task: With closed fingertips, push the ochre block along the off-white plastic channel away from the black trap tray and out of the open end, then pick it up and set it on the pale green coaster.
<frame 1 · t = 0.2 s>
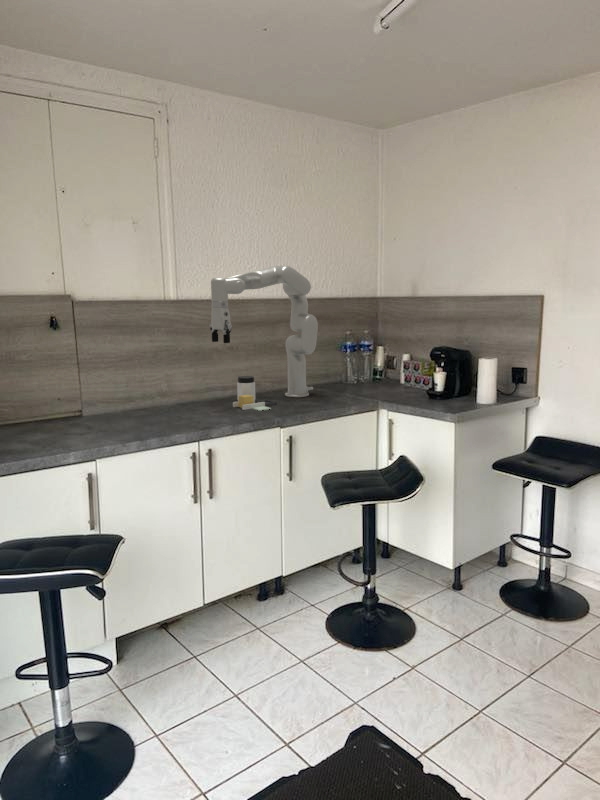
hand: (220, 342, 269), 31 cm above the worktop, fingers open, 9 cm apart
jar: (246, 400, 288), on the worktop
block: (246, 407, 272), on the worktop
coaster: (261, 409, 267), on the worktop
channel: (248, 406, 273), on the worktop
trap tray: (265, 404, 279), on the worktop
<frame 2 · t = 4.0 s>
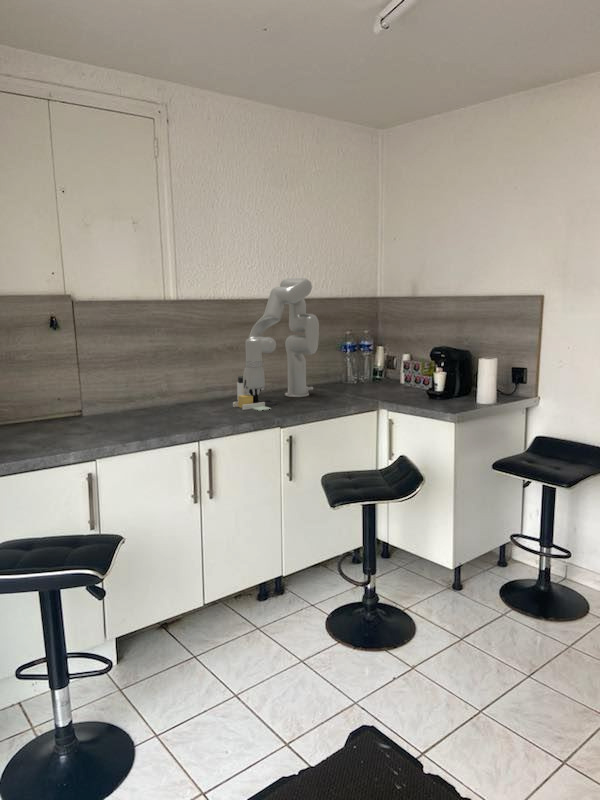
hand: (254, 402, 275), 1 cm above the worktop, fingers closed
block: (245, 407, 272), on the worktop, touching gripper
everything else where it was.
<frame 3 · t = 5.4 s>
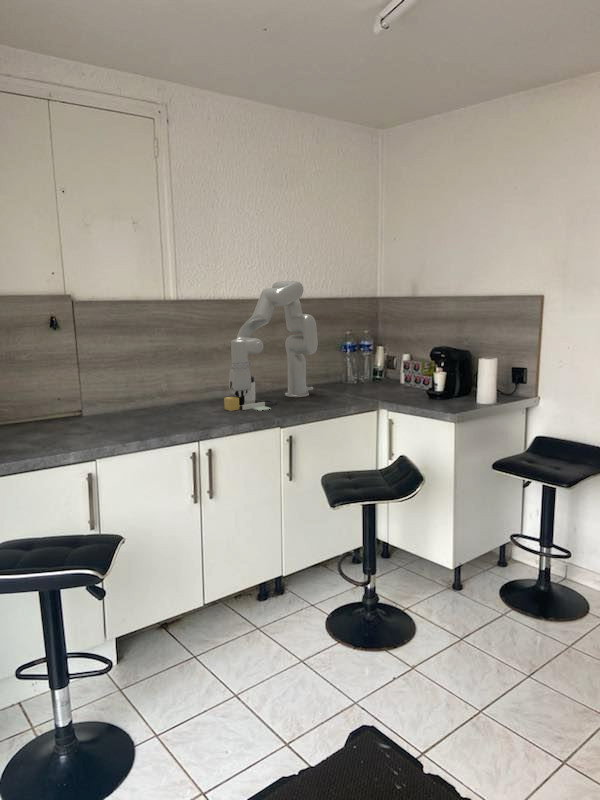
hand: (241, 404, 270), 2 cm above the worktop, fingers closed
block: (231, 409, 267), on the worktop, touching gripper
everything else where it was.
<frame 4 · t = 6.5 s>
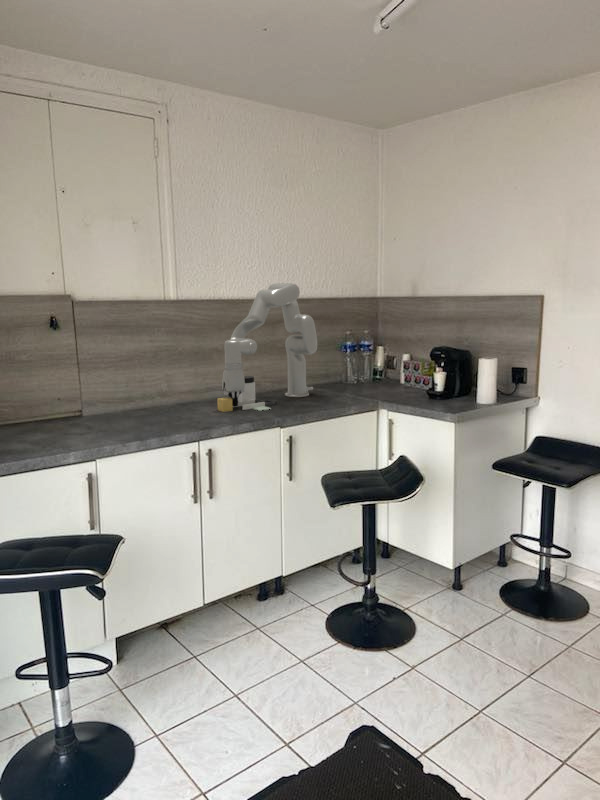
hand: (234, 405, 268), 1 cm above the worktop, fingers closed
block: (225, 410, 265), on the worktop, touching gripper
everything else where it was.
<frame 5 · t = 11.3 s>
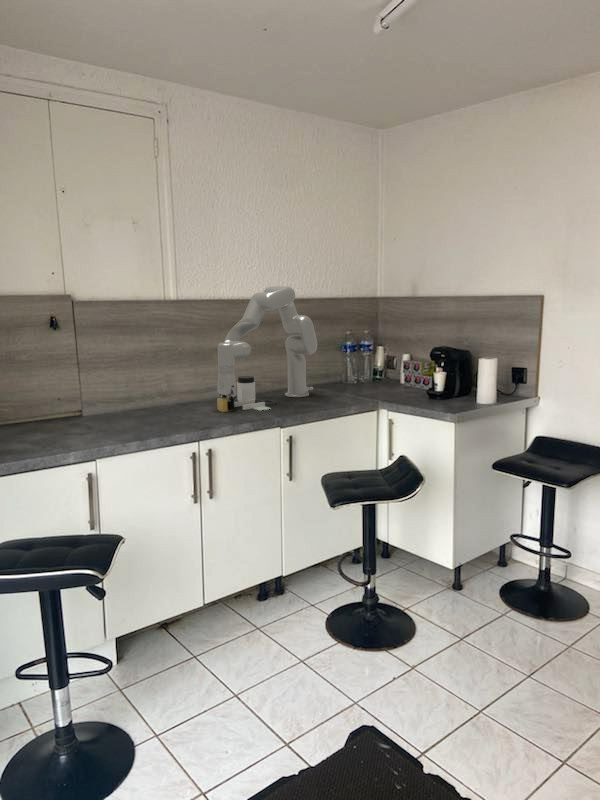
hand: (227, 408, 266), 1 cm above the worktop, fingers closed on block, 5 cm apart
block: (224, 410, 265), on the worktop, touching gripper
everything else where it was.
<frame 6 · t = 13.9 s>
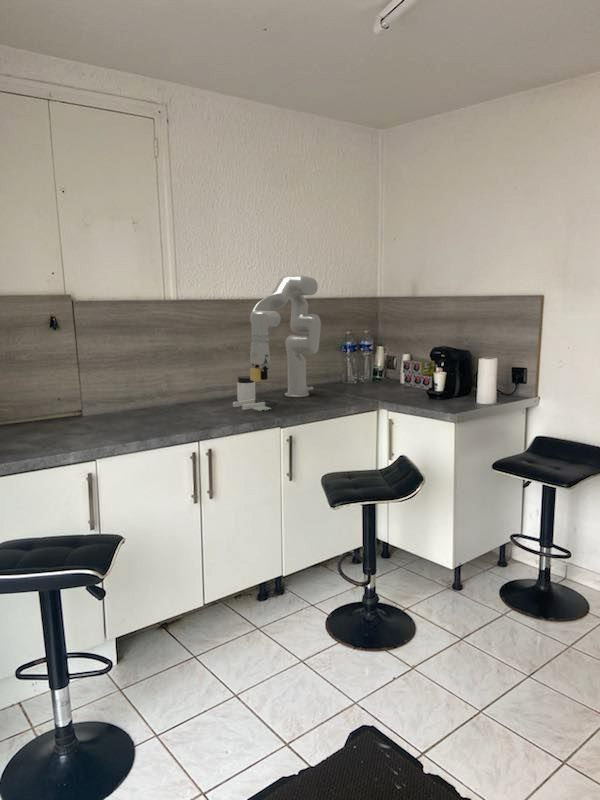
hand: (260, 378, 264), 14 cm above the worktop, fingers closed on block, 5 cm apart
block: (257, 380, 264), point 14 cm above the worktop, touching gripper
everything else where it was.
when the fingers open (3 cm above the worktop, at t = 16.3 s): block drops 1 cm, resting on coaster.
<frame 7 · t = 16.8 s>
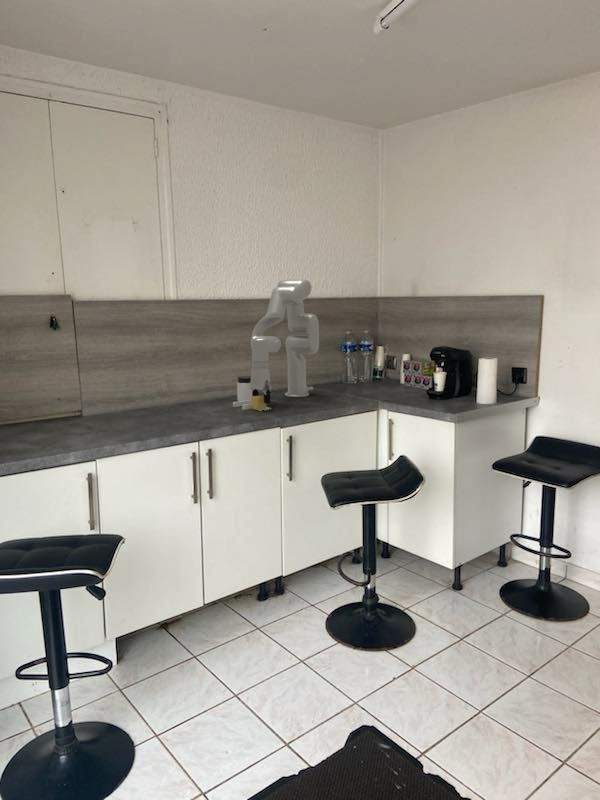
hand: (261, 401, 267), 4 cm above the worktop, fingers open, 9 cm apart
block: (258, 408, 266), point 1 cm above the worktop, touching coaster
everything else where it was.
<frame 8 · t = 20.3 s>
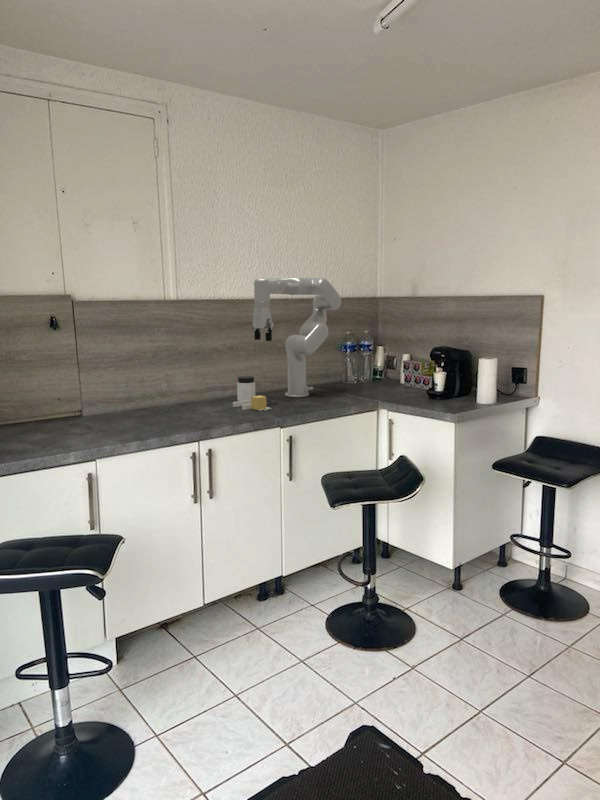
hand: (263, 340, 281), 30 cm above the worktop, fingers open, 9 cm apart
nothing on the worktop moved.
at the end: block inside the target area on the coaster (1.4 cm from its centre), point 0.6 cm above the coaster's base; block tilted 0°; the gripper is holding nothing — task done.
